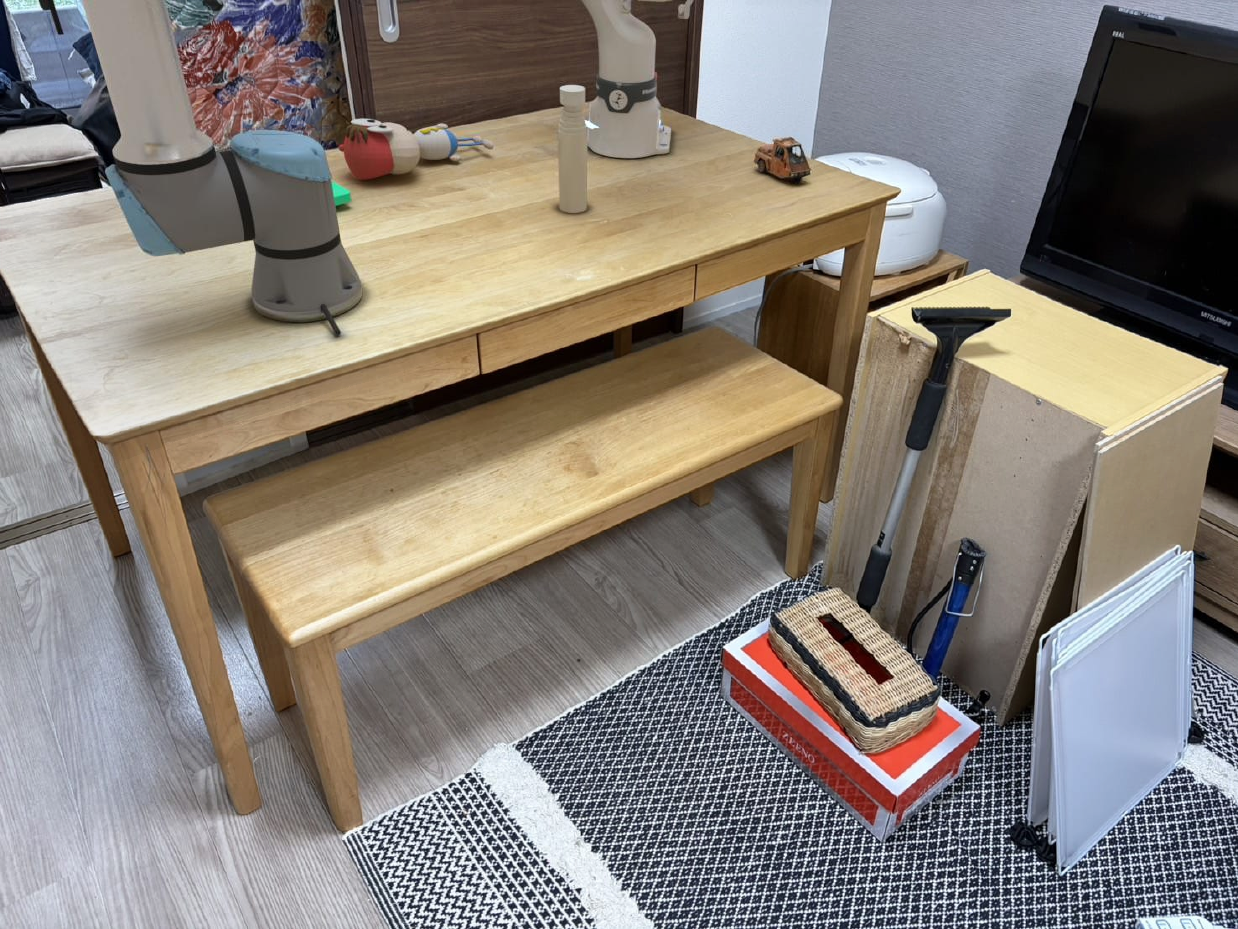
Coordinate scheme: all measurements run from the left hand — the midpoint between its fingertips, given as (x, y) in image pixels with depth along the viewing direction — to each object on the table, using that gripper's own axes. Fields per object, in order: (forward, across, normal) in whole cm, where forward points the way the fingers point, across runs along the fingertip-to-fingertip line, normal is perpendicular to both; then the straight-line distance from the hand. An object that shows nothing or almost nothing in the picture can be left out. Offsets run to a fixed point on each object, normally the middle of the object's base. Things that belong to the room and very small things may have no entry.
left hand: (108, 29), depth 146 cm
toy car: (+28, -108, +39) cm, 119 cm away
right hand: (-4, -74, +44) cm, 86 cm away
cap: (+8, -64, +36) cm, 74 cm away
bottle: (+28, -64, +36) cm, 78 cm away
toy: (+28, -47, +3) cm, 55 cm away
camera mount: (+28, -25, +14) cm, 40 cm away
